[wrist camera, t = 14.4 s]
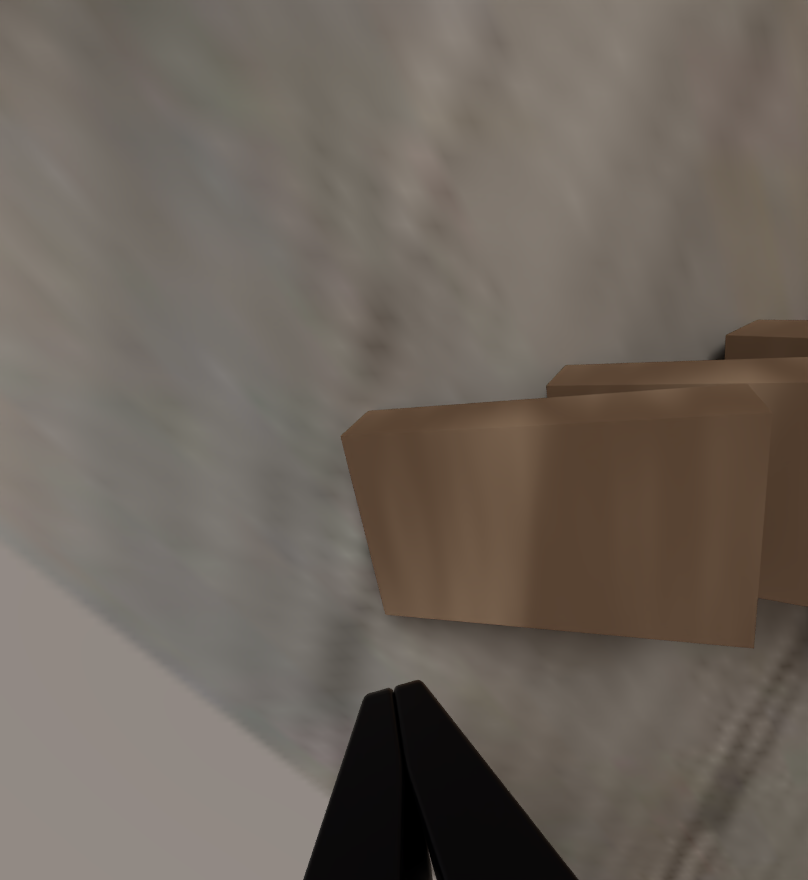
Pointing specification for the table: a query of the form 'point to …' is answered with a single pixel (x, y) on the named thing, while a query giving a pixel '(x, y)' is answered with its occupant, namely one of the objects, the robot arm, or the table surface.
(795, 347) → the domino
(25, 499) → the table surface
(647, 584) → the domino
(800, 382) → the domino
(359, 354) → the table surface
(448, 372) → the table surface
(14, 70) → the table surface
